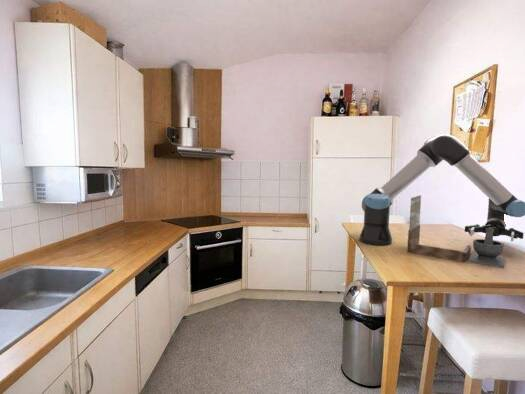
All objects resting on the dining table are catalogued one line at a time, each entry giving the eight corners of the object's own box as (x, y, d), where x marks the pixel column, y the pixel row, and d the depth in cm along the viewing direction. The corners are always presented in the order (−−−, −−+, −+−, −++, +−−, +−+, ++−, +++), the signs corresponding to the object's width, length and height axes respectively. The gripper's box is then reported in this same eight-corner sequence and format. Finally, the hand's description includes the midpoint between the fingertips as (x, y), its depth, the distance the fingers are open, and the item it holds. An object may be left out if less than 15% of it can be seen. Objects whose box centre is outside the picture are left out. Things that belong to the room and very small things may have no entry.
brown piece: (407, 251, 131) (410, 198, 128) (416, 244, 142) (419, 195, 139) (465, 262, 117) (470, 202, 114) (470, 253, 128) (474, 198, 125)
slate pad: (468, 261, 117) (468, 259, 117) (472, 254, 127) (472, 252, 127) (504, 268, 110) (504, 266, 110) (505, 259, 120) (505, 257, 120)
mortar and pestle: (501, 264, 111) (503, 233, 110) (471, 259, 117) (473, 230, 116) (502, 257, 120) (505, 228, 118) (474, 253, 126) (476, 225, 125)
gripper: (529, 239, 131) (530, 249, 115) (462, 231, 148) (455, 239, 132) (531, 222, 130) (532, 230, 115) (463, 216, 147) (456, 222, 131)
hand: (490, 235), depth 123 cm, fingers open, 13 cm apart
